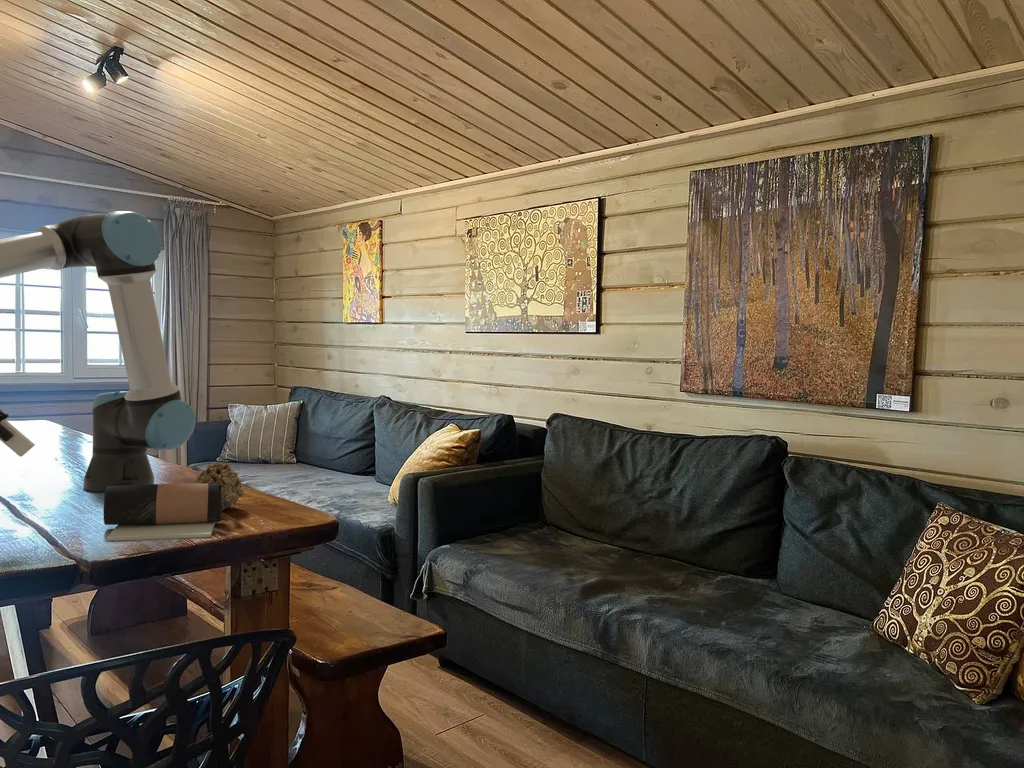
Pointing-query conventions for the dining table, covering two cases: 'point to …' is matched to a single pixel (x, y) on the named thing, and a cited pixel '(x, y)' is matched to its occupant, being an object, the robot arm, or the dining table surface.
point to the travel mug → (162, 504)
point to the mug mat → (161, 531)
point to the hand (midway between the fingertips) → (27, 450)
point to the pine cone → (223, 482)
